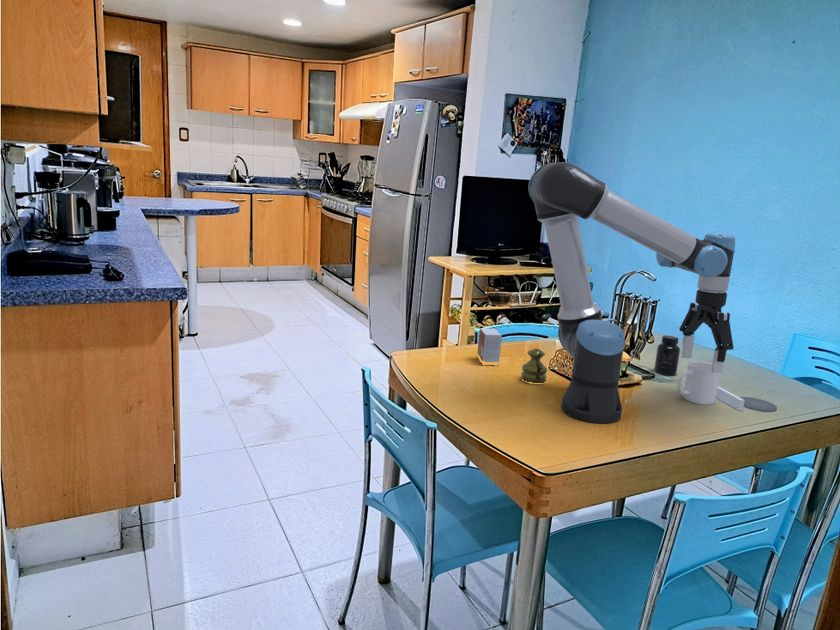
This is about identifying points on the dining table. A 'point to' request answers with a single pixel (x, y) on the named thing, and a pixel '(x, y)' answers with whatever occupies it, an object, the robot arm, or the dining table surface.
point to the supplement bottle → (667, 356)
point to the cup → (699, 383)
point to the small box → (489, 345)
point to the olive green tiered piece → (534, 368)
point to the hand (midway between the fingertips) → (700, 364)
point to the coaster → (758, 404)
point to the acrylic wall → (730, 399)
